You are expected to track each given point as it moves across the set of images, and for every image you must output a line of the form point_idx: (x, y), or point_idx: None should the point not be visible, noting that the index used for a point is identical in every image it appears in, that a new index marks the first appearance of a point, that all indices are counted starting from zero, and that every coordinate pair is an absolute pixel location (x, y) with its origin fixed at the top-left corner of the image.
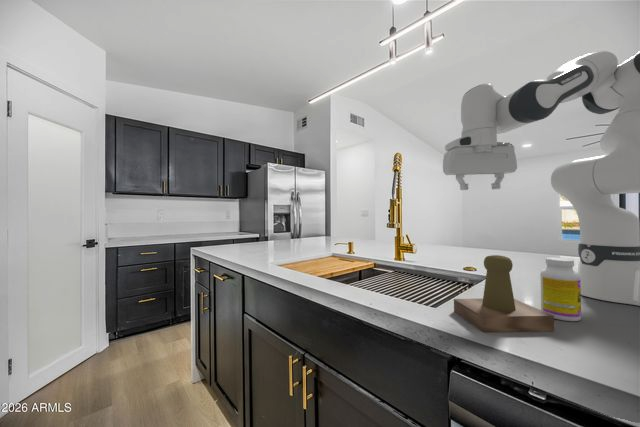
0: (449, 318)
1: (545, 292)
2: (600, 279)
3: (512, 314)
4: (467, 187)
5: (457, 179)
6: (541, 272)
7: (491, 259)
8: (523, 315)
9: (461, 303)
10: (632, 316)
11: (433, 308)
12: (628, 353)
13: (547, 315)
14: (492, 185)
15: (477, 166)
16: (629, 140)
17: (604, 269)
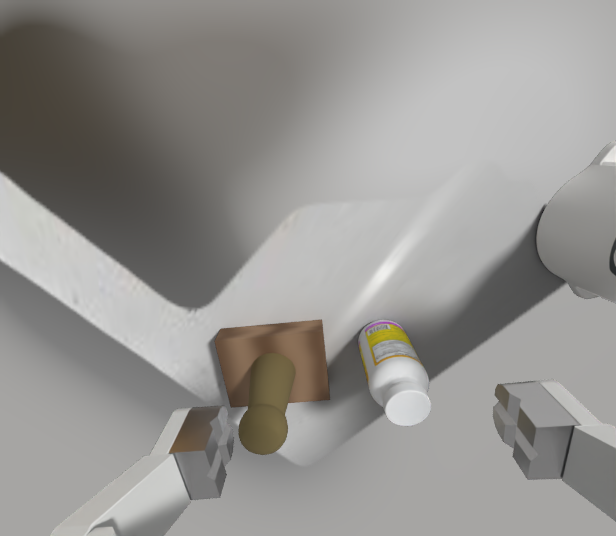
0: (205, 354)
1: (363, 365)
2: (581, 265)
3: None
4: (222, 459)
5: (82, 528)
6: (372, 378)
7: (244, 446)
8: (288, 401)
9: (220, 361)
10: (496, 331)
11: (189, 316)
12: (363, 425)
13: (321, 399)
14: (519, 420)
15: None
16: None
17: (608, 279)
